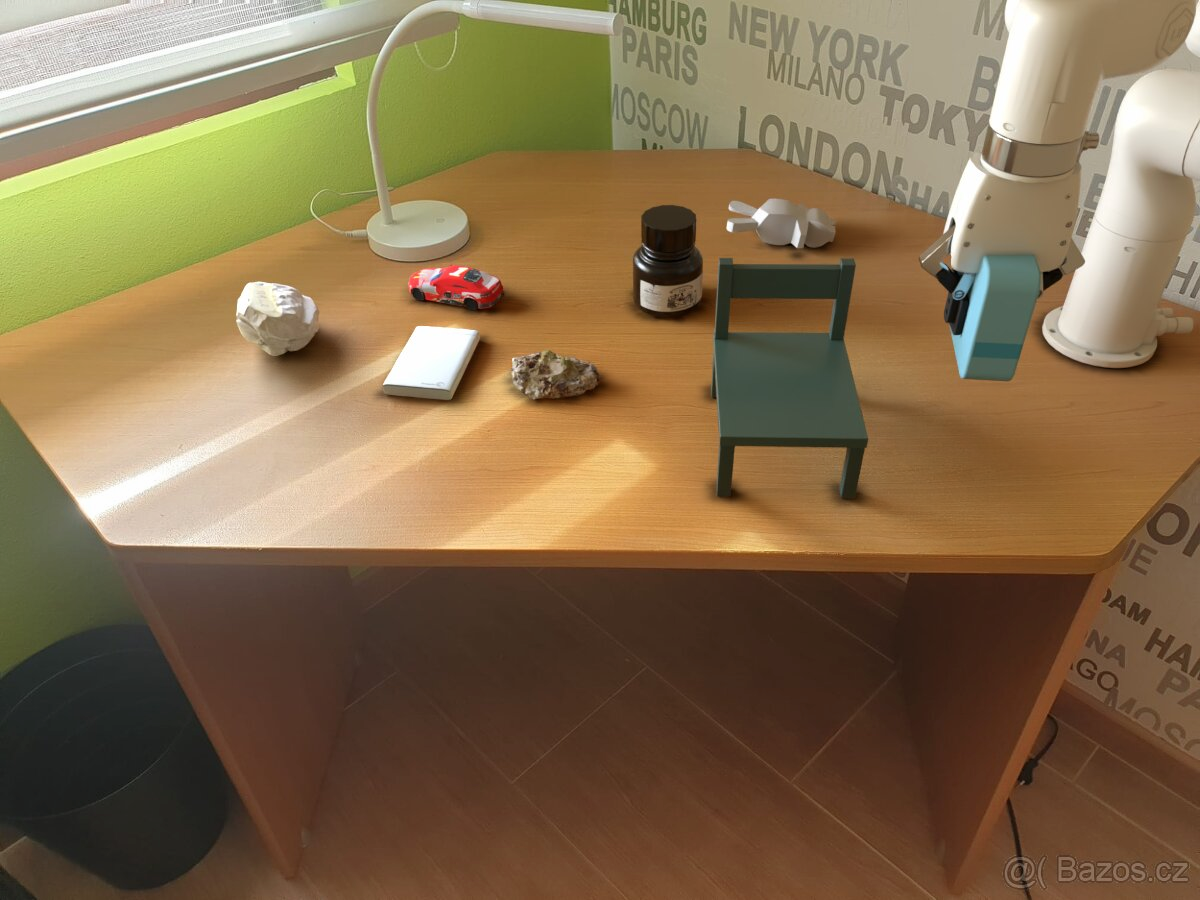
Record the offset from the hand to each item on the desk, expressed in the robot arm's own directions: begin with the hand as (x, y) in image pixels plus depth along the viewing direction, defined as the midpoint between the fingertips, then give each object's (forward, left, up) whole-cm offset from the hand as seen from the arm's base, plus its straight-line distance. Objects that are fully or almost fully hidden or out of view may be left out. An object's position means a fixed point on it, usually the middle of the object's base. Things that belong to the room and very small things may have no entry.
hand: (983, 325), depth 92 cm
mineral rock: (+43, -10, -15) cm, 47 cm away
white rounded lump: (+78, -18, -15) cm, 82 cm away
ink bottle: (+30, -28, -15) cm, 44 cm away
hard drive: (+58, -13, -15) cm, 62 cm away
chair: (+18, 0, -15) cm, 24 cm away
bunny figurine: (+14, -45, -15) cm, 49 cm away
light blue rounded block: (0, 0, -3) cm, 3 cm away
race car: (+58, -29, -15) cm, 67 cm away
